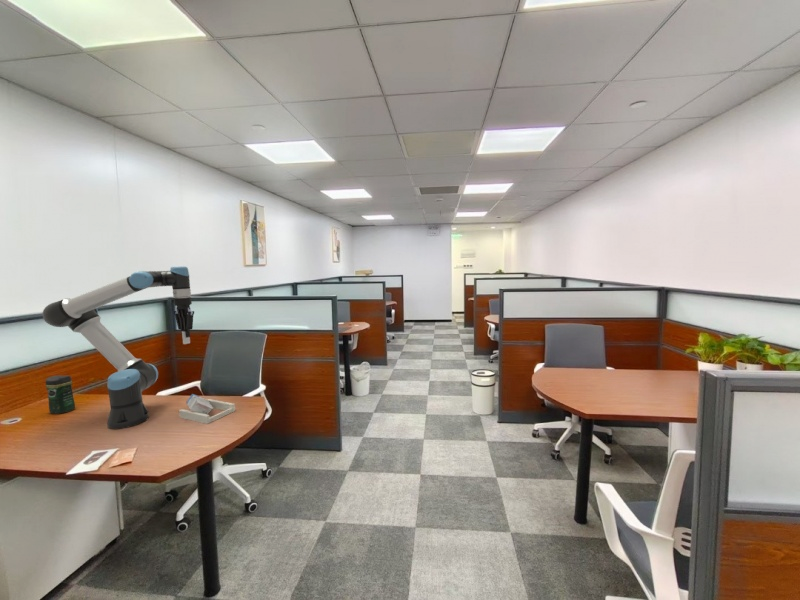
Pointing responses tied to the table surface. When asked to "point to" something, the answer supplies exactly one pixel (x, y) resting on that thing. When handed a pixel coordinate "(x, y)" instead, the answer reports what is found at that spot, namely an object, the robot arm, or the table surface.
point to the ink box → (199, 404)
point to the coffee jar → (60, 394)
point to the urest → (206, 418)
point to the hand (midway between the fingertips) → (186, 343)
